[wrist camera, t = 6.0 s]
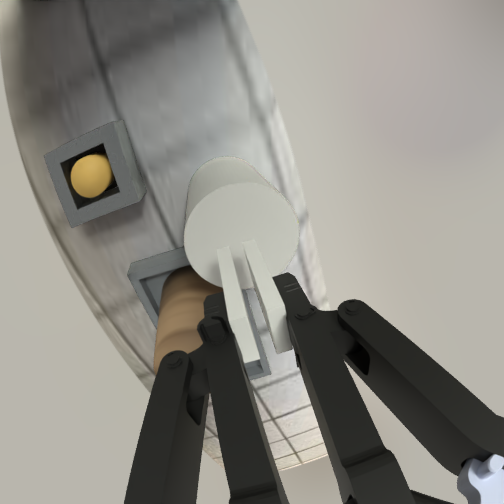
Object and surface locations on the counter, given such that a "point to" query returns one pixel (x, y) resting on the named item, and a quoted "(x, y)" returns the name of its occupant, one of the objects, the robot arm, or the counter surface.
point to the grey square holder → (122, 167)
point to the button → (92, 174)
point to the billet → (181, 312)
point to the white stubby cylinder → (237, 220)
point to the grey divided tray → (150, 289)
